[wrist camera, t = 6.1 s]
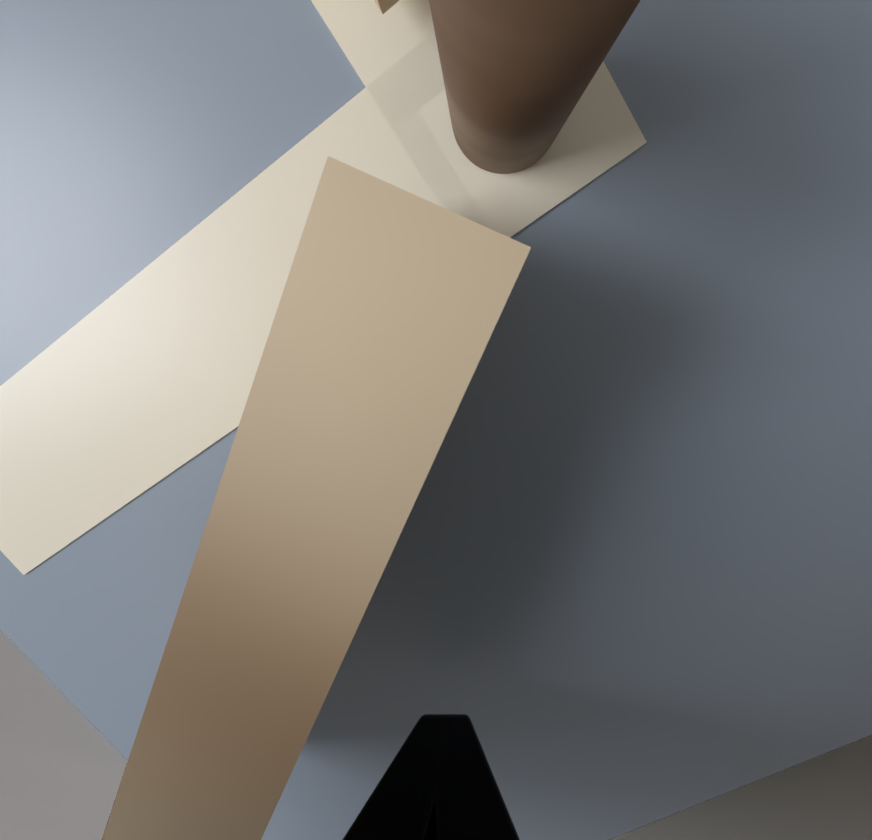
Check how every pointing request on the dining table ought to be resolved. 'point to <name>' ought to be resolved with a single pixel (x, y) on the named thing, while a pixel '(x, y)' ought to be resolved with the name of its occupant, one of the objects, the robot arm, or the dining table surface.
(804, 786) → the dining table surface
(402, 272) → the bar
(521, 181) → the mat
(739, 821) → the dining table surface
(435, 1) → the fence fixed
